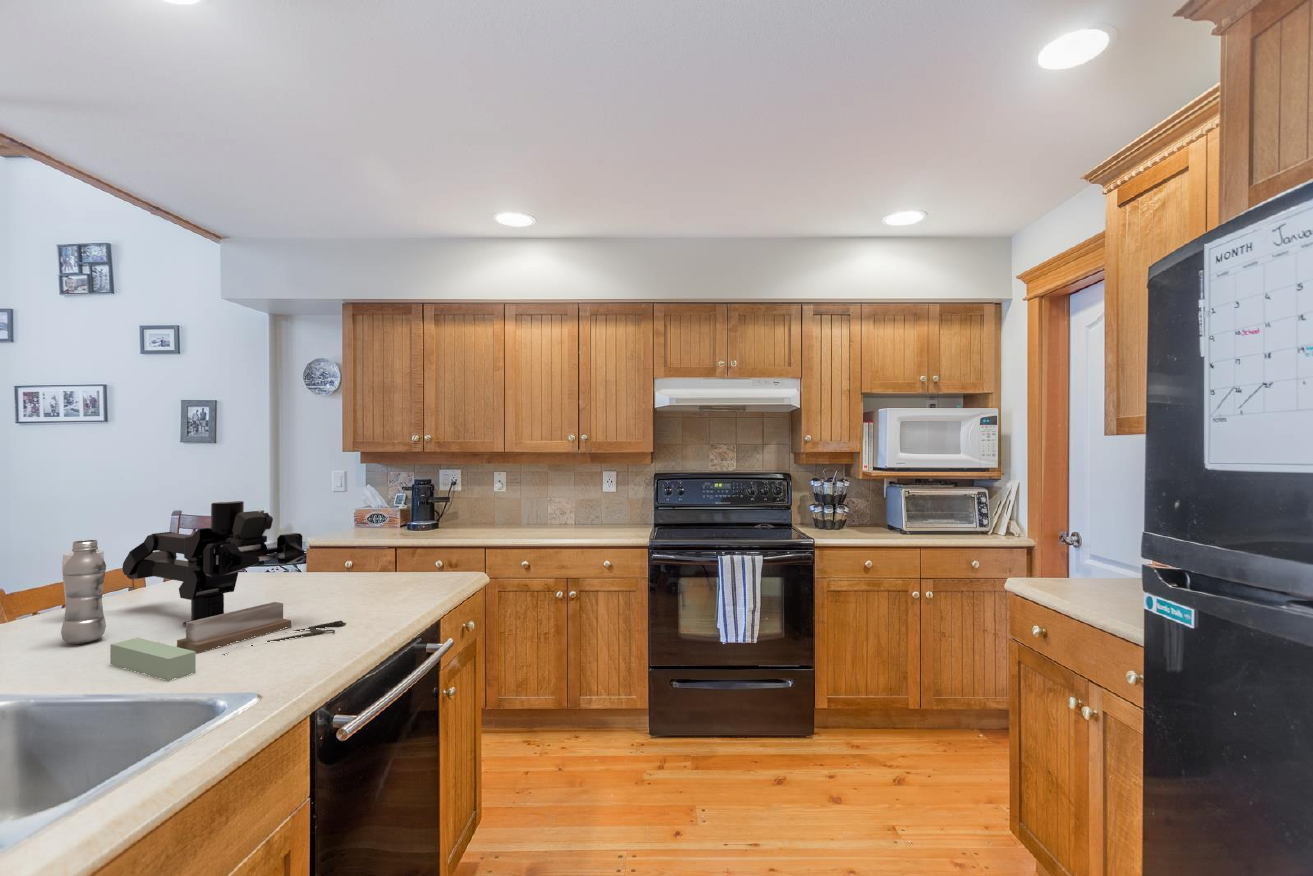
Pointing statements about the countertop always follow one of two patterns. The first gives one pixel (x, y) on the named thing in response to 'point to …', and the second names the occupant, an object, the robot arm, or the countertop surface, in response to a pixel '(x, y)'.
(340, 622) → the brown tree branch
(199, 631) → the ridge stand
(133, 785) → the countertop surface
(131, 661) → the bar
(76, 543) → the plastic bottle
